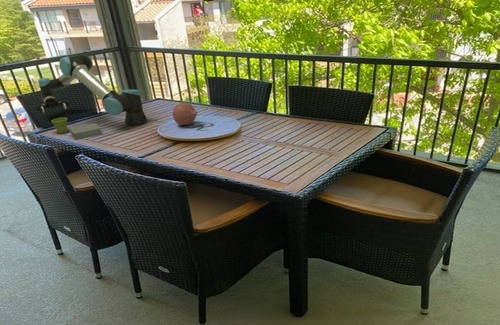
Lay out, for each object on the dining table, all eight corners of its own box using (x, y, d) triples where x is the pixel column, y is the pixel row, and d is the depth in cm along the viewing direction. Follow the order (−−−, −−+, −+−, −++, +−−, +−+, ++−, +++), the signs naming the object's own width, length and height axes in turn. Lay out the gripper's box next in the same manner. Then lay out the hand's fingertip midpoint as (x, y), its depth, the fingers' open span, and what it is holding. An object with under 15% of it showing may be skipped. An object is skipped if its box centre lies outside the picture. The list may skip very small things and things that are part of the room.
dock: (96, 128, 238) (95, 123, 236) (101, 134, 227) (100, 128, 226) (71, 134, 230) (69, 128, 229) (75, 139, 220) (73, 133, 218)
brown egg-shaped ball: (187, 131, 225) (185, 108, 218) (169, 126, 237) (166, 103, 231) (206, 125, 235) (204, 103, 228) (187, 120, 247) (185, 98, 241)
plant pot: (64, 134, 230) (60, 121, 226) (51, 134, 232) (48, 121, 228) (73, 129, 238) (70, 117, 235) (61, 129, 240) (58, 117, 237)
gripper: (70, 104, 262) (75, 110, 246) (32, 110, 249) (35, 117, 233) (68, 94, 259) (73, 100, 242) (29, 100, 246) (32, 106, 230)
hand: (54, 108), depth 238 cm, fingers open, 13 cm apart
